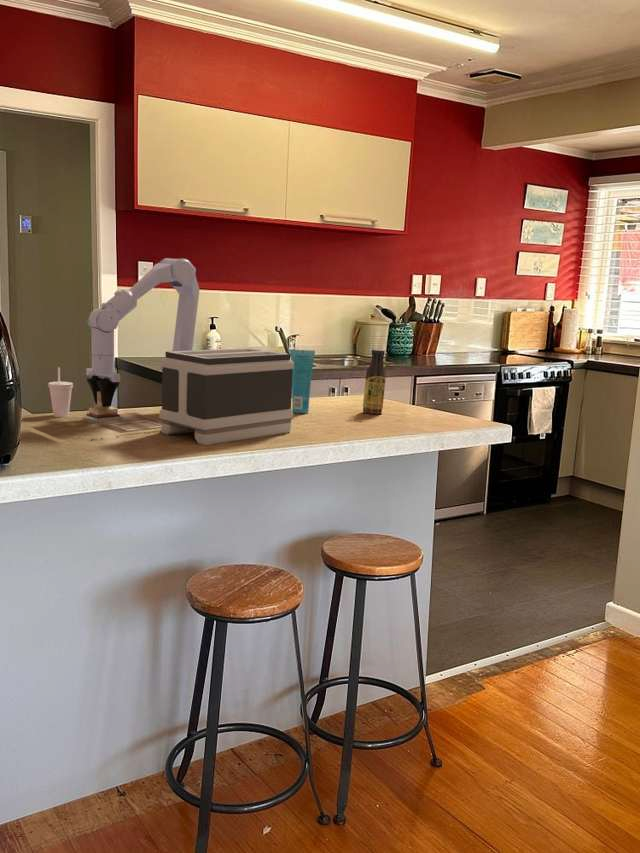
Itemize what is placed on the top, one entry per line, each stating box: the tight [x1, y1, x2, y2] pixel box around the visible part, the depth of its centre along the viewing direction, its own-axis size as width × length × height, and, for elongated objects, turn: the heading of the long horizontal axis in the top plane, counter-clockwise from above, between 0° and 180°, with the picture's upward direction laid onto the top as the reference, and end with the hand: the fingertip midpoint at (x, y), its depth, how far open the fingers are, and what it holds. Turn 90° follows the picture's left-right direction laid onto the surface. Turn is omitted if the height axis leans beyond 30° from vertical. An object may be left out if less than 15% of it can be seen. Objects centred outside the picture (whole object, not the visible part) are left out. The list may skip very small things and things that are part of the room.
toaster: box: [158, 347, 294, 447], centre depth 204 cm, size 18×34×21 cm, turn 137°
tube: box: [289, 349, 316, 414], centre depth 237 cm, size 7×5×19 cm, turn 99°
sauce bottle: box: [362, 348, 387, 415], centre depth 243 cm, size 7×6×20 cm
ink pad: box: [83, 412, 123, 423], centre depth 210 cm, size 8×7×1 cm
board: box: [77, 412, 161, 437], centre depth 208 cm, size 18×22×1 cm
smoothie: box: [47, 367, 74, 418], centre depth 211 cm, size 6×6×14 cm
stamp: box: [88, 391, 119, 416], centre depth 209 cm, size 6×4×6 cm
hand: (103, 405), depth 209 cm, fingers closed on stamp, 3 cm apart
